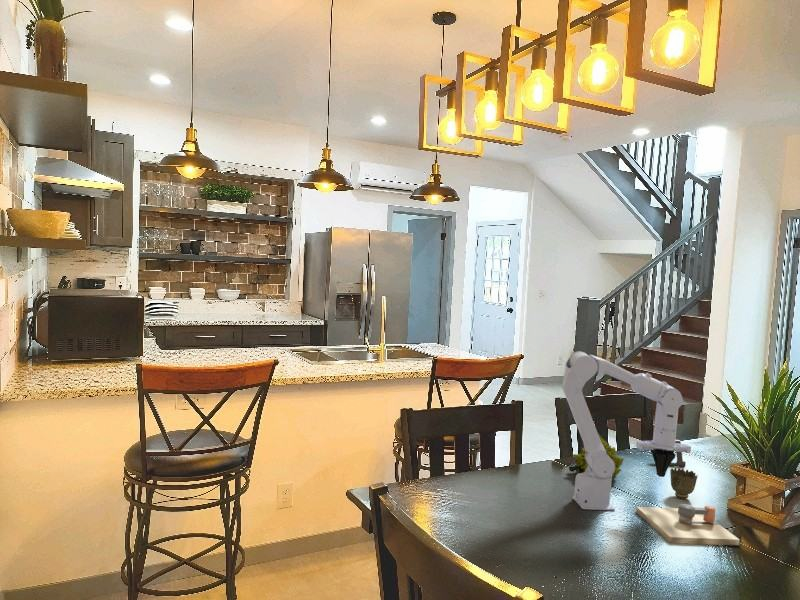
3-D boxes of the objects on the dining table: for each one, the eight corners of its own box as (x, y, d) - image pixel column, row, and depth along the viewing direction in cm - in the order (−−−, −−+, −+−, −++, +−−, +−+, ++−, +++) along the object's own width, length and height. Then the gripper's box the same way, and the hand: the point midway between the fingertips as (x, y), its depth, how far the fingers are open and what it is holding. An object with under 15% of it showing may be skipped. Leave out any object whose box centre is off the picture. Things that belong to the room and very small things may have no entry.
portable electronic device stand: (660, 466, 203) (662, 443, 203) (650, 459, 211) (652, 436, 211) (685, 468, 203) (687, 444, 203) (674, 460, 211) (676, 438, 211)
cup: (698, 504, 170) (700, 477, 170) (671, 500, 172) (674, 474, 171) (690, 494, 177) (693, 469, 177) (665, 491, 179) (667, 466, 178)
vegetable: (559, 462, 188) (583, 424, 190) (577, 478, 198) (599, 442, 200) (597, 486, 176) (622, 445, 179) (614, 502, 186) (638, 462, 189)
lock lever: (682, 523, 151) (683, 509, 150) (674, 516, 155) (675, 503, 154) (718, 524, 151) (719, 511, 151) (708, 517, 155) (710, 504, 155)
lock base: (670, 542, 143) (671, 529, 143) (636, 512, 161) (637, 499, 161) (739, 545, 145) (740, 531, 144) (697, 514, 162) (699, 502, 162)
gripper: (645, 430, 158) (640, 478, 158) (698, 434, 158) (693, 482, 158) (635, 423, 165) (630, 469, 166) (685, 427, 165) (681, 473, 165)
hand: (660, 475), depth 162 cm, fingers closed
